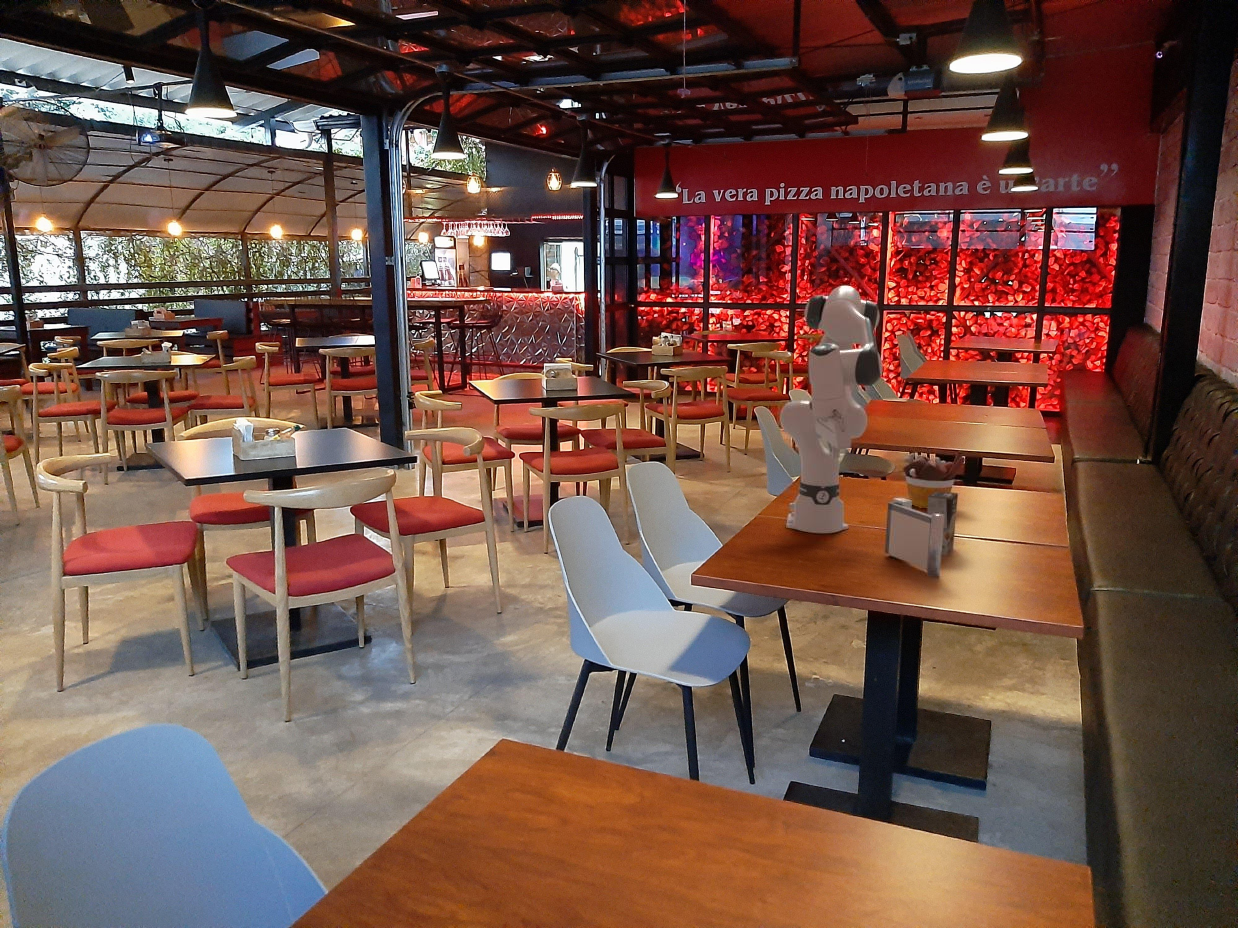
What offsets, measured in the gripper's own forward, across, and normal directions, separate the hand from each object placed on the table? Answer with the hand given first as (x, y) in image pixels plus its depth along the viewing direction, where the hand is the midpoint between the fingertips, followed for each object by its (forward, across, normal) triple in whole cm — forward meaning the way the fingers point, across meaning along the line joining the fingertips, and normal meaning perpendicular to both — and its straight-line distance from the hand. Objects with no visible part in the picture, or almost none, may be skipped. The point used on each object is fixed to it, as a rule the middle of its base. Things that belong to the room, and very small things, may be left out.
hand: (834, 457), depth 239 cm
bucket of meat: (+42, +56, -47) cm, 84 cm away
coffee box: (+34, +4, -28) cm, 44 cm away
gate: (+29, -8, -14) cm, 34 cm away
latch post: (+31, -1, -14) cm, 34 cm away
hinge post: (+30, -18, -17) cm, 39 cm away
